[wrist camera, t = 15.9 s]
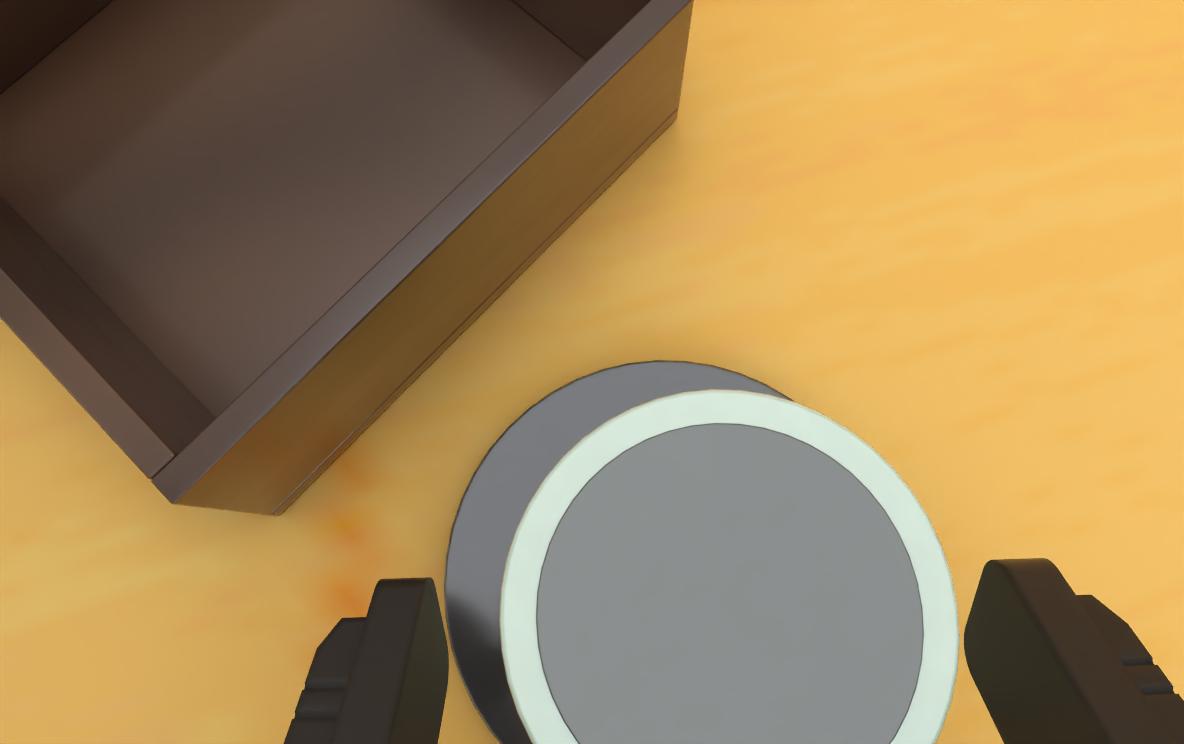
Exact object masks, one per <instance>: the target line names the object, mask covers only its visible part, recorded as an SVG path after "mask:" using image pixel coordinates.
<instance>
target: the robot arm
mask: <svg viewBox="0 0 1184 744" xmlns="http://www.w3.org/2000/svg"><path fill="white" fill-rule="evenodd" d="M964 649H965V656H966V661H967V664H968V667H969V670H970V673H971V675H972V678H973V680H974V682H975V684H976V686H977V688H978V690H979V692H980V694H981V696H982V698H983V700H984V702H985V705H986V707H987V709H988V711H989V713H990V715H991V717H992V719H993V721H994V723H995V725H996V727H997V729H998V732H999V734H1000V736H1001V738H1002V740H1003V742H1004V744H1184V701H1183V699H1182V698H1181V697H1180V695H1179V694H1175V693H1174V691H1173V686H1172V684H1171V683H1170V681H1169V680H1168V679H1167V677H1166V676H1165V675H1164V673H1163V672H1162V670H1161V669H1160V668H1159V666H1158V665H1154V664H1153V661H1152V659H1153V658H1152V657H1151V655H1150V654H1149V652H1148V651H1147V650H1146V648H1145V647H1144V646H1143V644H1142V643H1141V641H1140V640H1139V639H1138V637H1137V636H1136V635H1135V633H1134V632H1133V630H1132V629H1131V628H1130V626H1129V625H1128V624H1127V623H1126V622H1125V621H1124V620H1122V619H1121V618H1120V617H1119V616H1117V615H1116V614H1115V613H1114V612H1112V611H1111V610H1110V609H1109V608H1107V607H1106V606H1105V605H1104V604H1102V603H1101V602H1100V601H1099V600H1097V599H1096V598H1095V597H1094V596H1092V595H1075V593H1074V592H1073V590H1072V589H1071V587H1070V586H1069V584H1068V583H1067V582H1066V580H1065V579H1064V577H1063V576H1062V574H1061V573H1060V571H1059V570H1058V568H1057V567H1056V566H1055V565H1054V564H1053V563H1052V562H1051V561H1049V560H1048V559H1045V558H1033V559H1004V560H990V561H988V562H987V563H986V565H985V566H984V569H983V572H982V575H981V578H980V582H979V585H978V588H977V591H976V595H975V598H974V601H973V604H972V608H971V611H970V614H969V617H968V621H967V624H966V627H965V632H964ZM448 671H449V658H448V646H447V641H446V636H445V631H444V627H443V622H442V617H441V612H440V608H439V603H438V598H437V593H436V589H435V584H434V581H433V579H432V578H431V577H429V578H400V579H381V580H379V581H378V583H377V585H376V587H375V590H374V593H373V596H372V600H371V603H370V606H369V610H368V613H367V616H366V617H358V618H342V619H341V620H340V621H339V622H338V623H337V625H336V626H335V627H334V628H333V630H332V631H331V632H330V633H329V634H328V636H327V637H326V638H325V639H324V641H323V642H322V643H321V644H320V645H319V647H318V648H317V650H316V653H315V656H314V658H313V661H312V664H311V667H310V670H309V673H308V676H307V678H306V681H305V689H304V690H302V693H301V696H300V698H299V701H298V704H297V707H296V710H295V718H294V719H292V721H291V724H290V727H289V730H288V733H287V736H286V738H285V741H284V744H438V738H439V732H440V726H441V721H442V715H443V709H444V703H445V697H446V692H447V684H448Z"/></svg>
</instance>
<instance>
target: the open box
mask: <svg viewBox="0 0 1184 744" xmlns="http://www.w3.org/2000/svg"><path fill="white" fill-rule="evenodd" d="M693 1H694V0H0V318H1V319H2V320H3V321H4V322H5V323H6V325H7V326H8V327H9V328H10V329H11V330H12V331H13V332H14V333H15V334H16V335H17V336H18V338H19V339H20V340H21V341H22V342H23V343H24V344H25V345H26V346H27V347H28V348H29V349H30V351H31V352H32V353H33V354H34V355H35V356H36V357H37V358H38V359H39V360H40V361H41V363H42V364H43V365H44V366H45V367H46V368H47V369H48V370H49V371H50V372H51V373H52V374H53V376H54V377H55V378H56V379H57V380H58V381H59V382H60V383H61V384H62V385H63V386H64V387H65V389H66V390H67V391H68V392H69V393H70V394H71V395H72V396H73V397H74V398H75V399H76V401H77V402H78V403H79V404H80V405H81V406H82V407H83V408H84V409H85V410H86V411H87V412H88V414H89V415H90V416H91V417H92V418H93V419H94V420H95V421H96V422H97V423H98V424H99V425H100V427H101V428H102V429H103V430H104V431H105V432H106V433H107V434H108V435H109V436H110V437H111V439H112V440H113V441H114V442H115V443H116V444H117V445H118V446H119V447H120V448H121V449H122V450H123V452H124V453H125V454H126V455H127V456H128V457H129V458H130V459H131V460H132V461H133V462H134V463H135V465H136V466H137V467H138V468H139V469H140V470H141V471H142V472H143V473H144V474H145V475H146V477H147V478H148V479H150V480H151V481H152V483H153V484H154V485H155V486H156V488H157V489H158V490H159V491H160V492H161V493H162V494H163V495H164V496H165V497H166V498H167V499H168V501H169V502H170V503H171V504H176V505H185V506H193V507H202V508H211V509H219V510H228V511H237V512H246V513H254V514H263V515H274V516H279V515H281V514H282V513H283V512H284V511H285V510H286V509H287V508H288V507H289V506H290V505H291V504H292V503H293V502H294V501H295V500H296V499H297V498H298V497H299V496H300V495H301V494H302V493H303V492H304V491H305V490H306V489H307V488H308V487H309V486H310V485H311V484H312V483H313V482H314V481H315V480H316V479H317V478H318V477H319V476H320V475H321V474H322V473H323V472H324V471H325V470H326V469H327V468H328V467H329V466H330V465H331V464H332V463H333V462H334V461H335V460H336V459H337V458H338V457H339V456H340V455H341V454H342V453H343V452H344V451H345V450H346V449H347V448H348V447H349V446H350V445H351V444H352V443H353V442H354V441H355V440H356V439H357V438H358V437H359V436H360V435H361V434H362V433H363V432H364V431H365V430H366V429H367V428H368V427H369V426H370V425H371V424H372V423H373V422H374V421H375V420H376V419H377V418H378V417H379V416H380V415H381V414H382V413H383V412H384V411H385V410H386V409H387V408H388V407H389V406H390V405H391V404H392V403H393V402H394V401H395V400H396V399H397V398H398V397H399V396H400V395H401V394H402V393H403V392H404V391H405V390H406V389H407V388H408V387H409V386H410V385H411V384H412V383H413V382H414V381H415V380H416V379H417V378H418V377H419V376H420V375H421V374H422V373H423V372H424V371H425V370H426V369H427V368H428V367H429V366H430V365H431V364H432V363H433V362H434V361H435V360H436V359H437V358H438V357H439V356H440V355H441V354H442V353H443V352H444V351H445V350H446V349H447V348H448V347H449V346H450V345H451V344H452V343H453V342H454V341H455V340H456V339H457V338H458V337H459V336H460V335H461V334H462V333H463V332H464V331H465V330H466V329H467V328H468V327H469V326H470V325H471V324H472V323H473V322H474V321H475V320H476V319H477V318H478V317H479V316H480V315H481V314H482V313H483V312H484V311H485V310H486V309H487V308H488V307H489V306H490V305H491V304H492V303H493V302H494V301H495V300H496V299H497V298H498V297H499V296H500V295H501V294H502V293H503V292H504V291H505V290H506V289H507V288H508V287H509V286H510V285H511V284H512V283H513V282H514V281H515V280H516V279H517V278H518V277H519V276H520V275H521V274H522V273H523V272H524V271H525V270H526V269H527V268H528V267H529V266H530V265H531V264H532V263H533V262H534V261H535V260H536V259H537V258H538V257H539V256H540V255H541V254H542V253H543V252H544V251H545V250H546V249H547V248H548V247H549V246H550V245H551V244H552V243H553V242H554V241H555V240H556V239H557V238H558V237H559V236H560V235H561V234H562V233H563V232H564V231H565V230H566V229H567V228H568V227H569V226H570V225H571V224H572V223H573V222H574V221H575V220H576V219H577V218H578V217H579V216H580V215H581V214H582V213H583V212H584V211H585V210H586V209H587V208H588V207H589V206H590V205H591V204H592V203H593V202H594V201H595V200H596V199H597V198H598V197H599V196H600V195H601V194H602V193H603V192H604V191H605V190H606V189H607V188H608V187H609V186H610V185H611V184H612V183H613V182H614V181H615V180H616V179H617V178H618V177H619V176H620V175H621V174H622V173H623V172H624V171H625V170H626V169H627V168H628V167H629V166H630V165H631V164H632V163H633V162H634V161H635V160H636V159H637V158H638V157H639V156H640V155H641V154H642V153H643V152H644V151H645V150H646V149H647V148H648V147H649V146H650V145H651V144H652V143H653V142H654V141H655V140H656V139H657V138H658V137H659V136H660V135H661V134H662V133H663V132H664V131H665V130H666V129H667V128H668V127H669V126H670V125H671V124H672V123H673V122H674V121H675V120H676V118H677V113H678V107H679V101H680V94H681V87H682V80H683V72H684V65H685V58H686V51H687V44H688V37H689V30H690V23H691V16H692V9H693Z"/></svg>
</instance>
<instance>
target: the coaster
mask: <svg viewBox="0 0 1184 744" xmlns="http://www.w3.org/2000/svg"><path fill="white" fill-rule="evenodd" d="M711 389H715V390H742V391H749V392H755V393H761V394H768V395H772V396H775V397H779V398H782V399H785V400H789V401H792V402H794V401H793V400H792V399H790V398H789V397H787V396H785V395H784V394H782V393H780V392H778V391H777V390H775V389H773V388H771V387H770V386H768V385H766V384H764V383H762V382H760V381H757V380H755V379H752V378H750V377H748V376H745V375H743V374H741V373H738V372H734V371H731V370H727V369H724V368H720V367H717V366H713V365H707V364H701V363H694V362H688V361H664V360H655V361H645V362H635V363H628V364H623V365H619V366H615V367H611V368H606V369H602V370H599V371H597V372H594V373H591V374H589V375H586V376H583V377H581V378H578V379H576V380H574V381H572V382H570V383H568V384H566V385H564V386H562V387H560V388H559V389H557V390H555V391H553V392H551V393H550V394H548V395H547V396H545V397H544V398H543V399H541V400H540V401H538V402H537V403H535V404H534V405H533V406H531V407H530V408H528V409H527V410H526V411H525V412H524V413H523V414H522V415H521V416H520V417H519V418H518V419H516V420H515V421H514V422H513V423H512V424H511V425H510V426H509V427H508V428H507V429H506V430H505V431H504V433H503V434H502V435H501V436H500V437H499V438H498V440H497V441H496V442H495V443H494V444H493V446H492V447H491V448H490V449H489V451H488V452H487V454H486V455H485V457H484V458H483V460H482V461H481V463H480V464H479V466H478V468H477V469H476V471H475V472H474V474H473V476H472V478H471V480H470V482H469V484H468V486H467V488H466V491H465V493H464V495H463V497H462V499H461V502H460V505H459V508H458V511H457V514H456V516H455V519H454V522H453V525H452V529H451V534H450V539H449V544H448V549H447V554H446V564H445V578H444V598H445V617H446V622H447V628H448V633H449V639H450V644H451V649H452V652H453V655H454V658H455V661H456V665H457V668H458V671H459V674H460V677H461V679H462V681H463V684H464V686H465V688H466V690H467V692H468V694H469V697H470V699H471V701H472V703H473V705H474V707H475V708H476V710H477V712H478V713H479V715H480V716H481V718H482V719H483V721H484V723H485V724H486V726H487V727H488V729H489V731H490V732H491V733H492V734H493V736H494V737H495V738H496V739H497V740H498V742H499V743H500V744H533V743H532V742H531V740H530V738H529V736H528V733H527V731H526V729H525V727H524V725H523V723H522V721H521V719H520V717H519V714H518V712H517V709H516V706H515V703H514V700H513V697H512V694H511V691H510V688H509V685H508V682H507V677H506V672H505V666H504V661H503V656H502V651H501V636H500V621H499V618H500V601H501V587H502V582H503V577H504V571H505V566H506V560H507V557H508V554H509V550H510V547H511V544H512V541H513V538H514V535H515V532H516V529H517V527H518V525H519V523H520V521H521V519H522V516H523V514H524V512H525V510H526V508H527V506H528V504H529V502H530V500H531V499H532V497H533V496H534V494H535V493H536V491H537V489H538V488H539V486H540V485H541V483H542V481H543V480H544V479H545V477H546V476H547V475H548V474H549V473H550V471H551V470H552V469H553V468H554V467H555V465H556V464H557V463H558V462H559V461H560V459H561V458H562V457H563V456H564V455H565V454H566V453H567V452H568V451H569V450H571V449H572V448H573V447H574V446H575V445H576V444H577V443H578V442H579V441H580V440H581V439H582V438H584V437H585V436H586V435H588V434H589V433H591V432H592V431H593V430H595V429H596V428H598V427H599V426H600V425H602V424H603V423H605V422H606V421H608V420H610V419H612V418H614V417H615V416H617V415H619V414H621V413H623V412H625V411H627V410H629V409H631V408H633V407H636V406H638V405H641V404H644V403H646V402H649V401H652V400H654V399H657V398H662V397H666V396H670V395H674V394H679V393H683V392H691V391H701V390H711Z"/></svg>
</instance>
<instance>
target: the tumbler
mask: <svg viewBox="0 0 1184 744" xmlns="http://www.w3.org/2000/svg"><path fill="white" fill-rule="evenodd" d="M499 621H500V636H501V651H502V656H503V661H504V666H505V672H506V677H507V682H508V685H509V688H510V691H511V694H512V697H513V700H514V703H515V706H516V709H517V712H518V714H519V717H520V719H521V721H522V723H523V725H524V727H525V729H526V731H527V733H528V736H529V738H530V740H531V742H532V743H533V744H935V742H936V740H937V738H938V736H939V734H940V732H941V730H942V727H943V724H944V721H945V718H946V715H947V712H948V709H949V706H950V703H951V700H952V695H953V690H954V685H955V680H956V674H957V669H958V653H959V623H958V608H957V602H956V596H955V591H954V586H953V581H952V576H951V572H950V569H949V566H948V563H947V560H946V557H945V554H944V551H943V548H942V545H941V543H940V541H939V539H938V536H937V534H936V532H935V530H934V528H933V526H932V524H931V521H930V519H929V517H928V516H927V514H926V512H925V511H924V509H923V508H922V506H921V504H920V503H919V501H918V500H917V498H916V496H915V495H914V493H913V492H912V490H911V489H910V488H909V487H908V485H907V484H906V483H905V482H904V480H903V479H902V478H901V477H900V475H899V474H898V473H897V472H896V470H895V469H894V468H893V467H892V466H891V465H890V464H889V463H888V462H887V461H886V460H885V459H884V458H883V457H882V456H881V455H880V454H879V453H878V452H877V451H876V450H875V449H874V448H873V447H871V446H870V445H869V444H867V443H866V442H865V441H864V440H862V439H861V438H860V437H858V436H857V435H856V434H854V433H853V432H852V431H850V430H849V429H848V428H846V427H844V426H843V425H841V424H839V423H837V422H836V421H834V420H832V419H830V418H829V417H827V416H825V415H824V414H822V413H819V412H817V411H815V410H812V409H810V408H808V407H805V406H803V405H801V404H798V403H796V402H792V401H789V400H785V399H782V398H779V397H775V396H772V395H768V394H761V393H755V392H749V391H742V390H715V389H711V390H701V391H691V392H683V393H679V394H674V395H670V396H666V397H662V398H657V399H654V400H652V401H649V402H646V403H644V404H641V405H638V406H636V407H633V408H631V409H629V410H627V411H625V412H623V413H621V414H619V415H617V416H615V417H614V418H612V419H610V420H608V421H606V422H605V423H603V424H602V425H600V426H599V427H598V428H596V429H595V430H593V431H592V432H591V433H589V434H588V435H586V436H585V437H584V438H582V439H581V440H580V441H579V442H578V443H577V444H576V445H575V446H574V447H573V448H572V449H571V450H569V451H568V452H567V453H566V454H565V455H564V456H563V457H562V458H561V459H560V461H559V462H558V463H557V464H556V465H555V467H554V468H553V469H552V470H551V471H550V473H549V474H548V475H547V476H546V477H545V479H544V480H543V481H542V483H541V485H540V486H539V488H538V489H537V491H536V493H535V494H534V496H533V497H532V499H531V500H530V502H529V504H528V506H527V508H526V510H525V512H524V514H523V516H522V519H521V521H520V523H519V525H518V527H517V529H516V532H515V535H514V538H513V541H512V544H511V547H510V550H509V554H508V557H507V560H506V566H505V571H504V577H503V582H502V587H501V601H500V618H499Z"/></svg>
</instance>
